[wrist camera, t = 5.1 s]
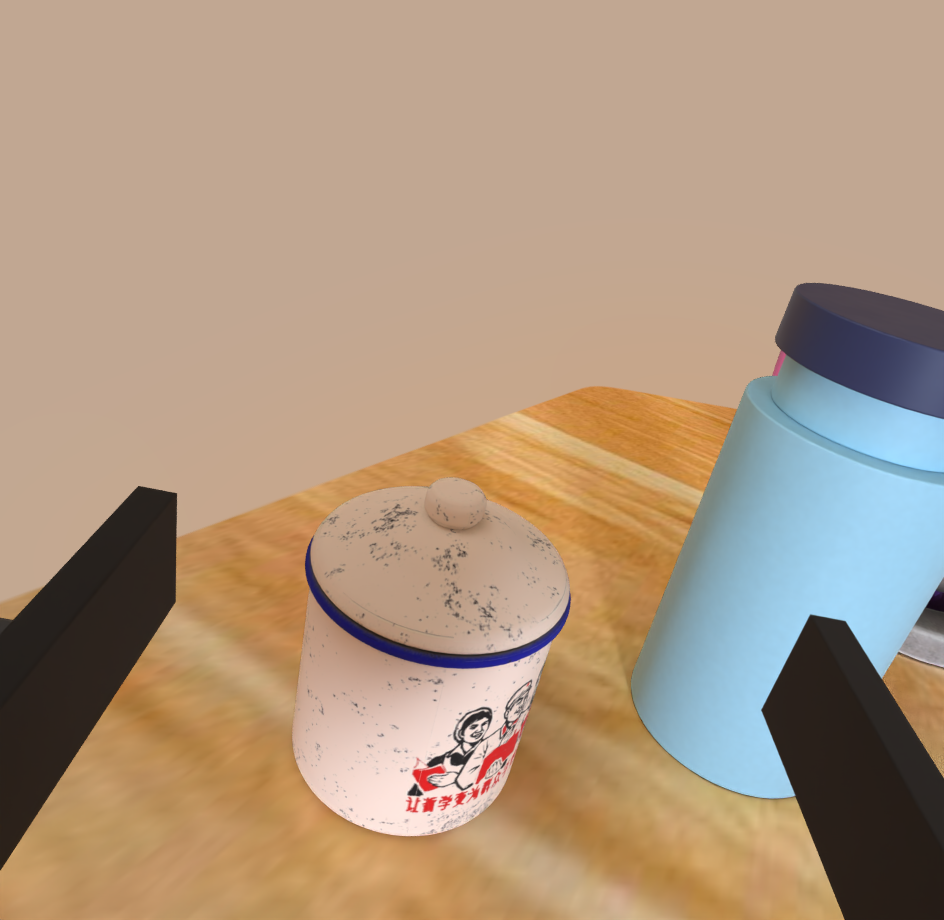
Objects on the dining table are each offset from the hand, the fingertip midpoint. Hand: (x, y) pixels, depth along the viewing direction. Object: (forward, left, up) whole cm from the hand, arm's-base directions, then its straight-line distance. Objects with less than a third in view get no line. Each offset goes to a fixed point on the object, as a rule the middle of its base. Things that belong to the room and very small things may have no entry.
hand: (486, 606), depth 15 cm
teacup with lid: (-6, +8, -14) cm, 17 cm away
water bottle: (+3, +19, -14) cm, 24 cm away
